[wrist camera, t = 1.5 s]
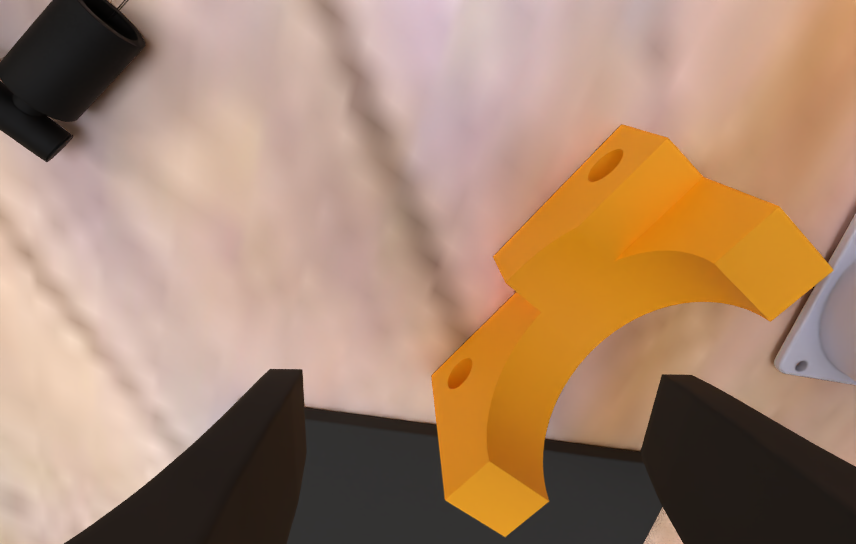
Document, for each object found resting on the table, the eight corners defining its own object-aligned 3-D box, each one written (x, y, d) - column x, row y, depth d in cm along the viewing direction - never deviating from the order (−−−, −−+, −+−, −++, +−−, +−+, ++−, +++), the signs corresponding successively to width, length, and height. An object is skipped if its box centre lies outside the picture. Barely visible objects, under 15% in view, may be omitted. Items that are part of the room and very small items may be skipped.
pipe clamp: (621, 124, 17) (737, 158, 11) (695, 203, 19) (833, 270, 13) (399, 352, 21) (400, 472, 15) (475, 406, 22) (505, 536, 16)
